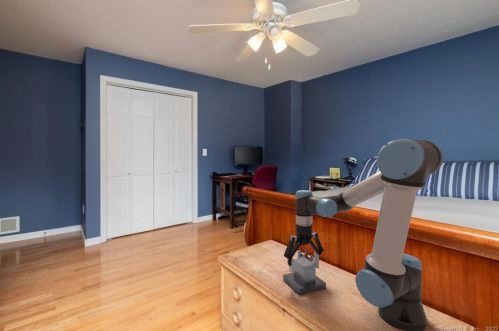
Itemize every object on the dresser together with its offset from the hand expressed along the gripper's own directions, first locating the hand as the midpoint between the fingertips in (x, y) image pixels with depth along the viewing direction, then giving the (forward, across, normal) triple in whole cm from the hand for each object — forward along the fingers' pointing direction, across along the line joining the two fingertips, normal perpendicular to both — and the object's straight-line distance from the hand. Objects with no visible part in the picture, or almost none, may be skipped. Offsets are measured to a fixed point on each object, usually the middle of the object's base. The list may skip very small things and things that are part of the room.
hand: (304, 269), depth 112 cm
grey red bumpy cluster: (+7, -12, -16) cm, 21 cm away
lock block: (+4, 0, 0) cm, 4 cm away
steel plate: (+7, 0, 0) cm, 7 cm away
